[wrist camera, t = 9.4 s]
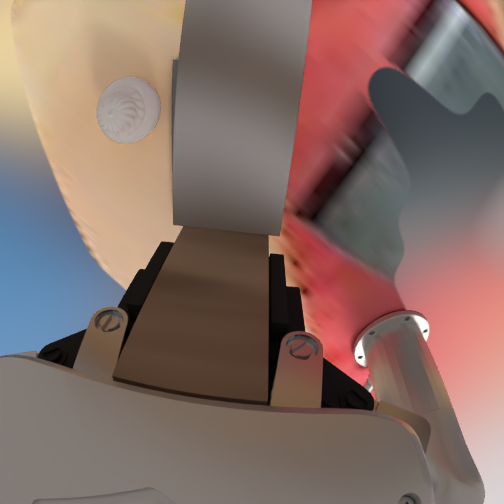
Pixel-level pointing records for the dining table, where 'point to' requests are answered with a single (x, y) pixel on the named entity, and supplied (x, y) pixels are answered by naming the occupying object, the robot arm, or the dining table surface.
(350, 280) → the dining table surface
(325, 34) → the dining table surface
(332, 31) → the dining table surface
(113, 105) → the muffin
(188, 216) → the turner
